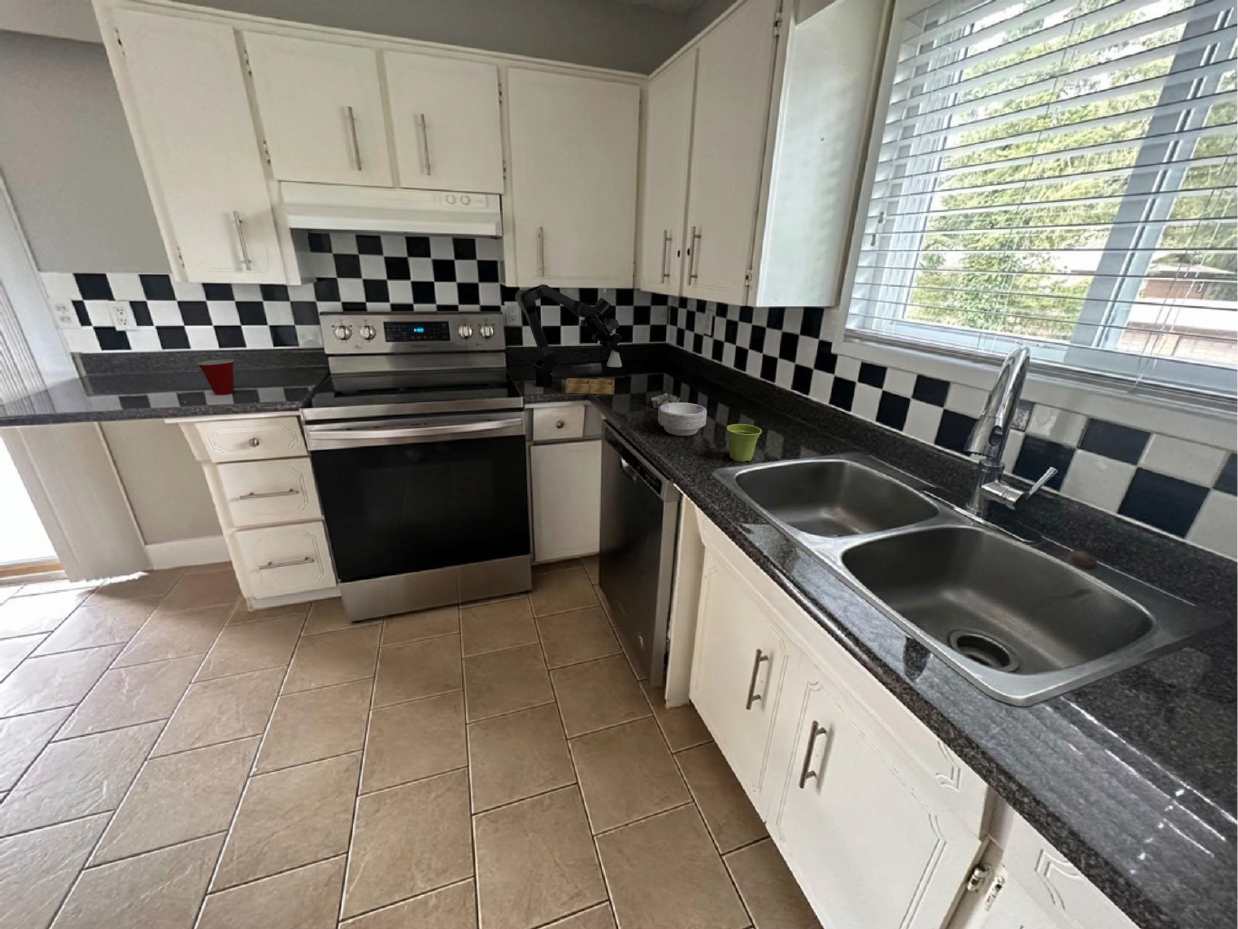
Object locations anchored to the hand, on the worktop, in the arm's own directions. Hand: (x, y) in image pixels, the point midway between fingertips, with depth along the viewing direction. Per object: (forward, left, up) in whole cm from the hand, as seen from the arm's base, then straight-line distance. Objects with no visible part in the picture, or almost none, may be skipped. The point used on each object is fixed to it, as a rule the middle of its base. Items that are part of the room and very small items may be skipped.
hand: (617, 351), depth 224 cm
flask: (-1, -1, -7) cm, 7 cm away
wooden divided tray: (-11, -24, -12) cm, 29 cm away
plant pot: (+34, -96, -12) cm, 102 cm away
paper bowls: (+20, -74, -12) cm, 77 cm away
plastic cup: (-145, -44, -12) cm, 152 cm away
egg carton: (+18, -44, -12) cm, 49 cm away
